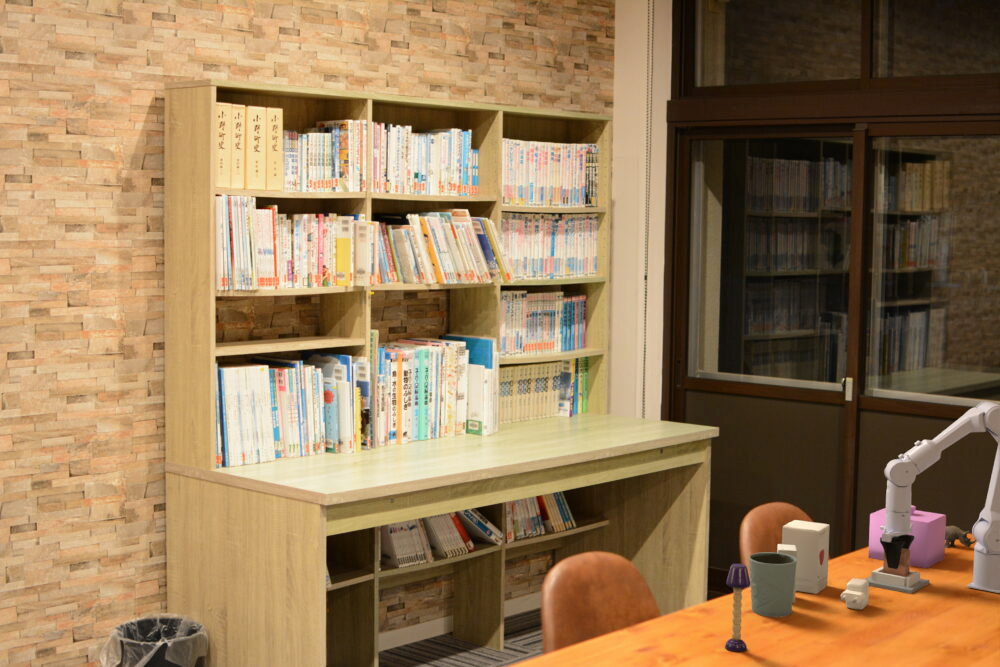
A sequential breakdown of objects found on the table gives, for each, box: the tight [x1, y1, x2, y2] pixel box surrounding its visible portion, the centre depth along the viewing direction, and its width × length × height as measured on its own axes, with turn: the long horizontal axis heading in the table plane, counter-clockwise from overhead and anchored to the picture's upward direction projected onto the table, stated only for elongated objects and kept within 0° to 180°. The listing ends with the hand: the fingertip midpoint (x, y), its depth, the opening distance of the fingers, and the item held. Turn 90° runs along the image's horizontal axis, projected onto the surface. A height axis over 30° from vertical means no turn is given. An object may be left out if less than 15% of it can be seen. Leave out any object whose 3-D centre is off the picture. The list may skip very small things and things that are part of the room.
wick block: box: [882, 548, 911, 577], centre depth 282 cm, size 4×5×6 cm
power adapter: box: [840, 577, 870, 611], centre depth 261 cm, size 11×5×6 cm, turn 149°
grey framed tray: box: [864, 565, 930, 595], centre depth 282 cm, size 12×12×3 cm
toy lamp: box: [724, 563, 751, 652], centre depth 233 cm, size 5×5×17 cm
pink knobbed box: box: [868, 504, 947, 569], centre depth 306 cm, size 15×25×14 cm, turn 141°
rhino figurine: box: [945, 525, 977, 549], centre depth 320 cm, size 4×14×6 cm, turn 47°
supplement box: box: [781, 519, 831, 595], centre depth 278 cm, size 9×9×15 cm
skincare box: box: [776, 543, 797, 604], centre depth 268 cm, size 6×4×12 cm
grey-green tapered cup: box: [748, 551, 797, 618], centre depth 258 cm, size 10×10×12 cm
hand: (896, 566), depth 282 cm, fingers open, 3 cm apart
